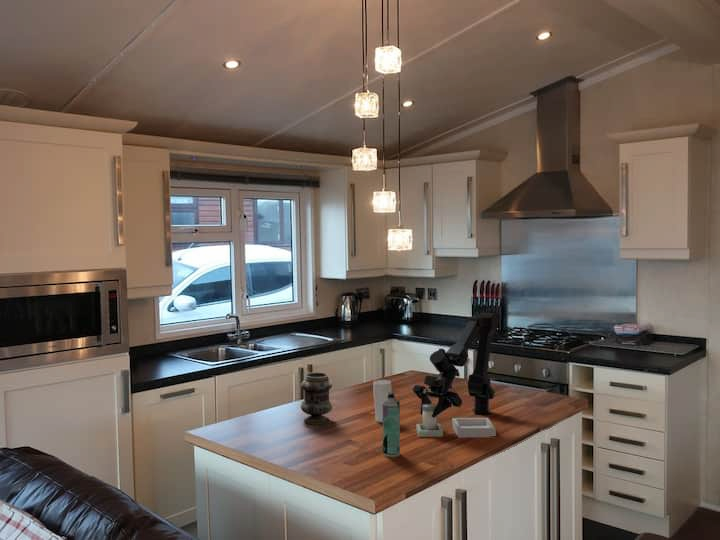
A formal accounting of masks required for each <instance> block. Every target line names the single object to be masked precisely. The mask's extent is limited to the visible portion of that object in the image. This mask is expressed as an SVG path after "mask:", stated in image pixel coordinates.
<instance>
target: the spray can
mask: <svg viewBox="0 0 720 540" xmlns="http://www.w3.org/2000/svg"><path fill="white" fill-rule="evenodd" d="M400 408H401V407H400V399H398V398H396V396H395V393H394V392H392V391H391V393H388V396H387V398H386V399H384V400H383V423H382V455H383V456H384V457H388V458H397V457H399V456H400V455H401V444H400V443H401V441H400V440H401V434H400V433H401V430H400V428H401V423H400V422H401V418H400V417H401V416H400V415H401V409H400Z"/></svg>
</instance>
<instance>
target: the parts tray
mask: <svg viewBox="0 0 720 540" xmlns="http://www.w3.org/2000/svg"><path fill="white" fill-rule="evenodd" d="M452 428H453V430H454V432H455V434H456V435H457V436H456V437H458V438H460V439H461V438H463V439H464V438H468V437H469V438H491V437H490V436H496V437H497V428H496V427H495V426H494V424H493V423H492V421H491V420H490V419H489V418H488V417H453V418H452ZM488 436H489V437H488Z"/></svg>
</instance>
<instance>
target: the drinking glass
mask: <svg viewBox="0 0 720 540" xmlns="http://www.w3.org/2000/svg"><path fill="white" fill-rule="evenodd" d="M372 386H373V388H372V391H373V403H374V414H375V415H374V416H375V418H374V419H375V421H376V422H377V423H380V424H381V423H382V424H383V400H384V399H386V398H387V396H388V393H391V392H392V382H391V380H386V379H379V380H374V381H373V385H372Z"/></svg>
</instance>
